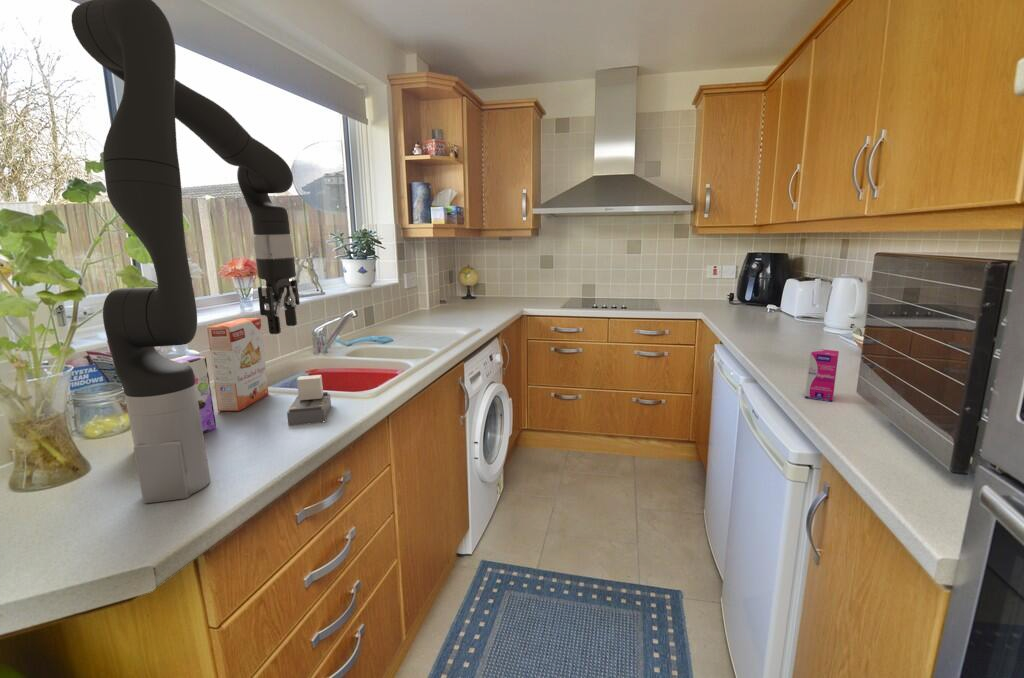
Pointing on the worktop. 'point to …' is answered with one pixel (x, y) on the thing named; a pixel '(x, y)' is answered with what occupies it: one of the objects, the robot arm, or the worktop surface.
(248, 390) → the cracker box
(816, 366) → the supplement box
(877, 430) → the worktop surface
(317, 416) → the fader console
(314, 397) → the fader tab
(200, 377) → the candy box
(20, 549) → the worktop surface
